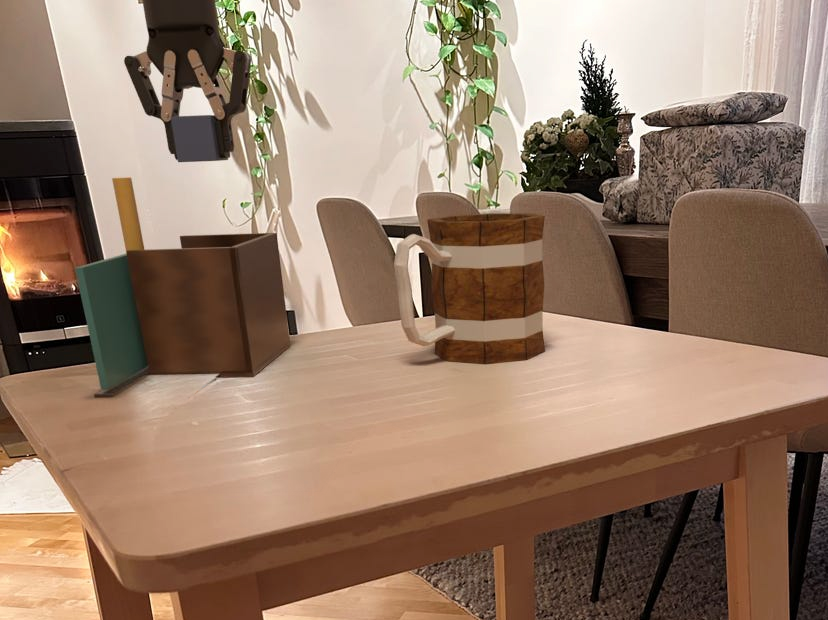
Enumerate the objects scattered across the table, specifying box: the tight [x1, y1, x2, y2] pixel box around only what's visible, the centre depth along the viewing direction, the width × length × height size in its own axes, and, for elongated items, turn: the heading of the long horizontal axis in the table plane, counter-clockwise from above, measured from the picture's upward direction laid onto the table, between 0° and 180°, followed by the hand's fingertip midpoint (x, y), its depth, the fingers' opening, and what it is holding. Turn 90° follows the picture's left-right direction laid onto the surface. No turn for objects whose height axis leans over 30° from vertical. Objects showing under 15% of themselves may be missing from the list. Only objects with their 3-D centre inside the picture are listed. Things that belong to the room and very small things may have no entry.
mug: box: [393, 212, 546, 365], centre depth 110 cm, size 20×14×15 cm
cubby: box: [93, 232, 291, 399], centre depth 108 cm, size 14×28×14 cm, turn 177°
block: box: [171, 114, 229, 163], centre depth 107 cm, size 4×4×4 cm
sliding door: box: [74, 176, 148, 391], centre depth 102 cm, size 2×17×20 cm, turn 177°
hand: (202, 157), depth 108 cm, fingers closed on block, 4 cm apart
